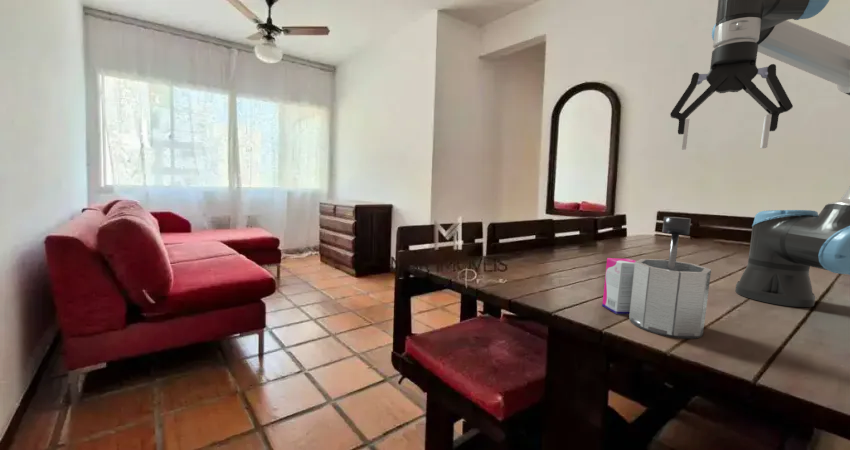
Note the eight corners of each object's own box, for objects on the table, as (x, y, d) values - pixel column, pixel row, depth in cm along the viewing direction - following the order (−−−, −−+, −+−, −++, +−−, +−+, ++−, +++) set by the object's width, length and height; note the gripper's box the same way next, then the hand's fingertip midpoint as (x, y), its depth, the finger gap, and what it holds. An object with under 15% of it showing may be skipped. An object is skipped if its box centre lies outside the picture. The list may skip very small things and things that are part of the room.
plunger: (671, 312, 78) (682, 216, 76) (698, 326, 71) (711, 220, 68) (636, 311, 78) (646, 215, 76) (658, 325, 71) (670, 219, 68)
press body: (666, 311, 84) (672, 257, 82) (719, 339, 69) (728, 274, 67) (611, 309, 84) (617, 255, 82) (653, 337, 69) (660, 272, 67)
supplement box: (641, 314, 81) (646, 263, 80) (615, 314, 80) (620, 263, 79) (625, 305, 87) (629, 257, 85) (601, 305, 86) (605, 257, 85)
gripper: (664, 50, 82) (653, 148, 84) (824, 27, 68) (806, 145, 70) (665, 60, 88) (655, 150, 91) (813, 41, 74) (796, 148, 77)
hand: (721, 148), depth 81 cm, fingers open, 13 cm apart
